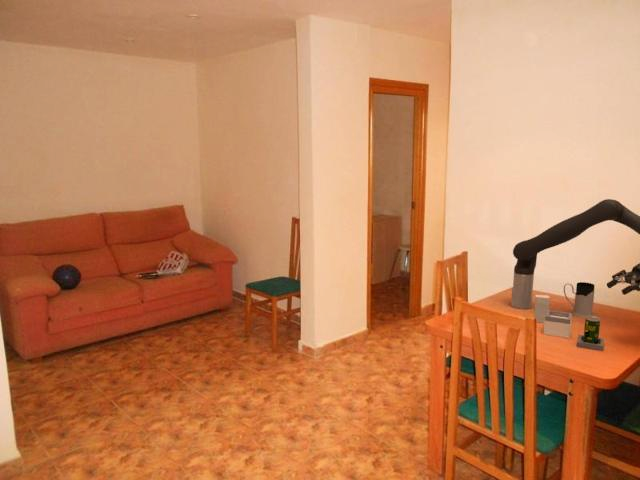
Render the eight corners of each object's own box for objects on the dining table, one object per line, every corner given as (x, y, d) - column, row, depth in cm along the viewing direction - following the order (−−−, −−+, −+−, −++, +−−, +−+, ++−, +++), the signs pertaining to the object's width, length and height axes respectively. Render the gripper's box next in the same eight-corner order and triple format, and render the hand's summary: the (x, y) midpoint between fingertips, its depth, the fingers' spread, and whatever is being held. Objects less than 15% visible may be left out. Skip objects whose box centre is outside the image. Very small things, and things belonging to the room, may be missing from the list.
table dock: (576, 346, 210) (577, 342, 210) (578, 339, 218) (578, 334, 218) (603, 351, 205) (603, 346, 205) (603, 343, 214) (604, 338, 213)
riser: (543, 334, 224) (545, 316, 222) (546, 326, 232) (547, 309, 231) (569, 338, 219) (570, 320, 217) (570, 330, 228) (572, 313, 226)
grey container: (588, 319, 242) (591, 288, 239) (558, 311, 253) (560, 281, 250) (596, 315, 248) (599, 284, 245) (566, 308, 258) (568, 278, 256)
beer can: (584, 341, 215) (587, 313, 213) (599, 344, 212) (602, 316, 210) (581, 345, 211) (584, 317, 209) (595, 348, 208) (598, 319, 206)
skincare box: (547, 320, 241) (549, 295, 239) (548, 323, 237) (550, 298, 235) (533, 319, 243) (535, 294, 240) (533, 322, 239) (535, 296, 237)
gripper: (632, 257, 215) (599, 277, 215) (660, 265, 202) (624, 287, 201) (638, 272, 217) (605, 291, 217) (666, 281, 204) (631, 302, 203)
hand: (615, 289), depth 209 cm, fingers open, 8 cm apart
